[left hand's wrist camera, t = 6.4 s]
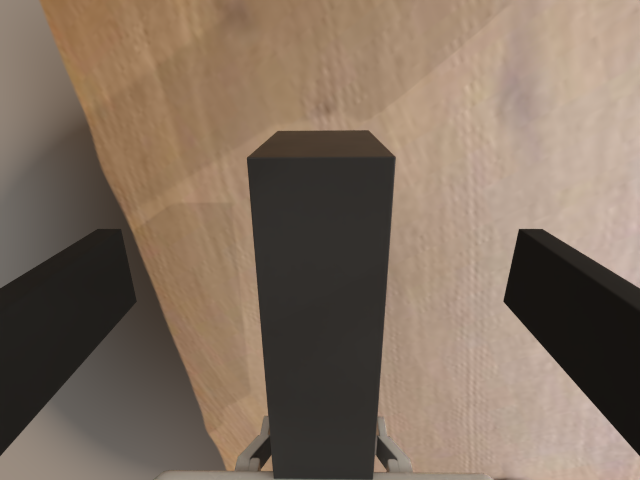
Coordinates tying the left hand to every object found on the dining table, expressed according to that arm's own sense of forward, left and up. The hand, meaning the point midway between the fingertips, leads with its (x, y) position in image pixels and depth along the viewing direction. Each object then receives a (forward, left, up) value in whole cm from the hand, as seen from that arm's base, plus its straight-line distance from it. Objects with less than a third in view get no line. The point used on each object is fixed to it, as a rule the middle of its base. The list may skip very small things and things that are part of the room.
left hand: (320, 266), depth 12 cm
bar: (+8, 0, -12) cm, 15 cm away
